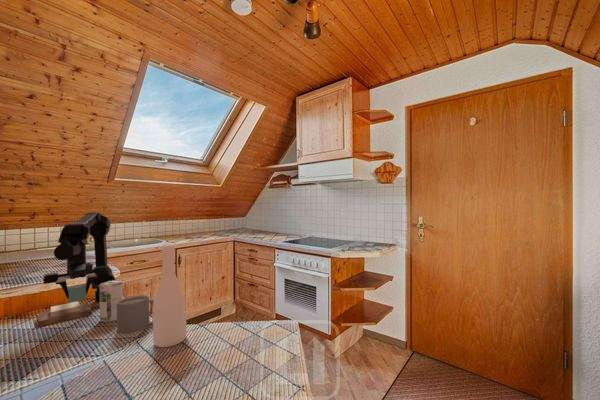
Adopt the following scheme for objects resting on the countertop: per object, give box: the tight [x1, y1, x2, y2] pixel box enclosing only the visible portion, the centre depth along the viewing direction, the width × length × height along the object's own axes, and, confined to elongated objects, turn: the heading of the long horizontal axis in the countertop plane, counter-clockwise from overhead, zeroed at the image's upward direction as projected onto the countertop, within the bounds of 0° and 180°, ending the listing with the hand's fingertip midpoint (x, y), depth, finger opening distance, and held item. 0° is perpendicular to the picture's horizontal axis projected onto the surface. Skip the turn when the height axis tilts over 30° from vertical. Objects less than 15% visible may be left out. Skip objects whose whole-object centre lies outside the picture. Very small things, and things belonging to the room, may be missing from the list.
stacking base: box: [37, 301, 93, 328], centre depth 113 cm, size 16×13×4 cm
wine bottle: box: [152, 244, 188, 348], centre depth 86 cm, size 10×10×30 cm
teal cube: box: [67, 283, 87, 303], centre depth 105 cm, size 5×5×5 cm
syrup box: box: [99, 280, 124, 323], centre depth 107 cm, size 6×6×14 cm
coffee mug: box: [116, 294, 155, 335], centre depth 99 cm, size 13×10×10 cm
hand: (77, 296), depth 105 cm, fingers closed on teal cube, 5 cm apart
